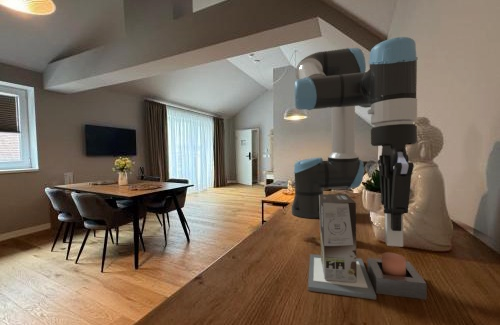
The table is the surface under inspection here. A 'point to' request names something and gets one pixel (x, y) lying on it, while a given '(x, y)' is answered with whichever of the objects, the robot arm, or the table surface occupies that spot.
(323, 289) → the drawing board
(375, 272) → the button housing
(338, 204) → the coffee box
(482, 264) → the table surface
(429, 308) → the table surface
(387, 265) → the button
